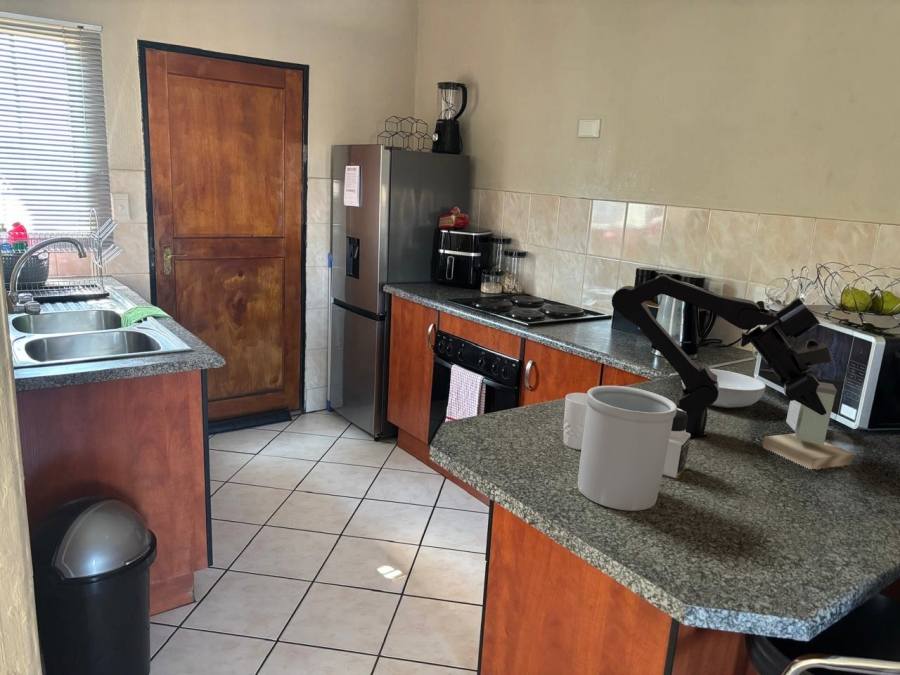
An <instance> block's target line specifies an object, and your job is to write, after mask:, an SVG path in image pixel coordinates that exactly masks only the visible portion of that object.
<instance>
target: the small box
mask: <svg viewBox="0 0 900 675" xmlns="http://www.w3.org/2000/svg"><path fill="white" fill-rule="evenodd" d="M800 406H801V404H800V403H799V402H797V401H795V400H794V401H790V400H789V405H788V411H787V416H786V420H785V422H786V424H787V425H788V426H789V427H790V428H791V429H792V430H793V431H794V432H795V429H796V424H797V420H798V415H799V411H800Z"/></svg>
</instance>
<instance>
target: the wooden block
mask: <svg viewBox="0 0 900 675" xmlns="http://www.w3.org/2000/svg"><path fill="white" fill-rule="evenodd" d="M762 447H763V449H764V450H767V451H769V450H770V451H769V452H771V451H772V452H771V453H773V452H774V453H773V454H775V453H776V454H775V455H777V454H778V456H779V455H780V457H782V456H783V457H782V458H784V457H785V458H784V459H786V460H788V459H789V460H788V461H790V460H791V462H792V461H793V462H792V463H794V462H795V463H794V464H796V463H797V464H796V465H799V464H800V465H799V466H801V465H802V466H801V467H803V466H804V467H803V468H805V467H806V468H805V469H807V468H808V469H807V470H809V469H811V470H810V471H813V470H812V469H816V470H821V468H823V469H828V468H829V467H831V468H838V467H844V465H845V466H850V465H851V464H852V460H853V455H854V453H853V452H851V451H848V450H846V449H843V448H841V447H839V446H836V445H834V444H831V443H829V442H827V441H825V442H824V445H821V444H816V443H811V442H806V441H801V440H797V438H796V435H795V432H794V433H786V434H778V435H768V436H767V435H766V436H763V443H762ZM836 466H837V467H836Z"/></svg>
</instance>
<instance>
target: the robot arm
mask: <svg viewBox="0 0 900 675" xmlns="http://www.w3.org/2000/svg"><path fill="white" fill-rule="evenodd" d="M660 295H664V296H667V297H669V298H673V299H675V300H678V301H681V302H684V303H686V304H690V305H692V306H695V307H697V308H701V309H703V310H705V311H708V312H711V313H713V314H715V315H717V316H719V317H720V318H722V319H723V320H725V322H728V323H729V324H730V325H733V326H735V327H736V328H738V329H741V330H743V331H749V332H741V333H740V334H741V340H740V342H739V343H740V347H742V348H743V347H745V346H748V345H749V344H751V345H752V347H753V348H754V349H755V350H756V351H757V352H758V354H759V355H760V357H761V358H762V359H763V361H764V362H765V363H766V365H767V367H768V368H769V369H770V370H772V372H773V373H774V374H775V375H776V377H777V378H778V381H779V382H780V384H782V385H783V384H784V386H783V391H784V395H785V396H786V397H787V398H788V399H789V400H788V401H789V402H790V401H794V400H795V401H797V402H799V403H800V404H802V405H804V406H806V407H808V408H810V409H811V410H813V411H815V412H817V413H818V414H820V415H824V414H826V413H827V412H826V410H825V408H824V406H823V404H822V402H821V400H820V398H819V397H818V395H817V393H816V390H817V387H818V386H819V385H820V384H819V382H820V381H818V379H817V378H816V377H815V376H814V372H813V371H812V370H810V368H811V367H810V366H814V365H819V364H828V363H831V362H833V359H832V355H831V352H830V348H829V345H827V344H826V343H824V342H820V343H819V342H818V341H816V339H813V338H812V339H809V340H806V343H805V346H803V347H801V348H799V349H796V348H794V346H793V345H790V344H789V343H788V342H787V341H786V339H785V338H784V337H783V336H782V334H781V333H780V332H779V330H778V329H777V328H776V327H778V328H779V329H780V330H781V331H782V333H783V334H784V335H785V337H786V338H789V337H790V338H793V337H794V339H797V338H799V337H801V336H802V335H803V334H805V333H807V332H809V331H810V330H813V329H814V328H815V327H817V326H818V325H821V322H820V321H819V319H818V318H817V316H815V313H813V312H812V310H810V308H809V307H807V306H806V305H805V304H804V302H802V300H801V299H800V298H799V297H796V298H795V299H793V300H791V301H790V303H789V304H787V305H784V307H782V308H780V309H779V310H777V311H774V310H771V309H766V308H763V307H760V306H759V304H758V303H757V302H755V301H754V300H750V299H745V298H740V297H734V296H727V295H726V296H725V295H722V294H721V295H720V294H717V293H714V292H712V291H709V290H706V289H703V288H700V287H698V286H694V285H692V284H689V283H687V282H684V281H681V280H678V279H675V278H672V277H670V276H669V275H667V274H659V275H658V276H656V277H655V278H653V279H652V278H651V279H650V280H646V281H645V282H642V283H640V284H637V285H635V286H633V285H624V286H622V287H620V288H619V289H617V290H616V291H615V292H614V293H613V295H612V297H611V307H612V308H613V309H614V311H616V312H617V313H618V314H619V315H620V316H622V317H623V318H624V319H625V320H627V321H628V322H630V323H631V324H633V325H634V326H636V327H637V328H638V329H639V330H640V331H641V332H642V333H643V334H644V336H645V337H646V338H647V339H648V340H649V342H651V344H652V345H653V346H654V347H655V348H656V349H657V351H658V352H659V354H661V355H662V357H664V359H665V360H666V361H667V363H669V364H670V366H671V367H672V368H673V369H674V370H675V371H676V373H677V374H678V375H679V377H680V379H682V380H681V382H682V381H683V384H684V386H685V389H684V388H683V389H682V390H681V391H680V396H679V399H678V404H676V406H677V408H678V409H681V410H683V411H684V412H686V413H687V415H688V420H687V426H686V433H690V434H691V436H690V439H691V438H699V437H701V438H702V437H708V436H709V433H708V432H707V431H705V430H706V425H707V418H708V406H712V405H711V404H713V403H714V402H715V401H716V400H717V398H718V393H719V384H718V381H717V375H715V374H713V373H712V372H711V371H710V369H711V368H710V367H709V366H708V364H707V363H705V362H704V363H703V364H702V365H701V366H700V365H699V364H697V363H695V361H693V360H692V359H691V358H690V356H688V354H687V353H686V352H685V351H684V350H683V349H682V348H681V346H679V344H678V343H677V342H676V340H674V338H673V337H672V336H671V335H670V334H669V332H668V331H667V330H666V329H665V328H664V327H663V326H662V324H660V322H659V321H658V320H657V319H656V318H655V317H654V316H653V314H652V312H651V310H650V309H649V306H648V304H647V301H648V300H651V299H653V298H655V297H657V296H660ZM761 326H765V327H761ZM750 330H751V331H750ZM808 370H809V371H808Z"/></svg>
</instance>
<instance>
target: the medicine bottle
mask: <svg viewBox="0 0 900 675" xmlns="http://www.w3.org/2000/svg"><path fill="white" fill-rule="evenodd" d="M687 420H688V415H687V413H686V412H684V411H683V410H681V409H678V408H677V411H676V415H675V417H674V418H673V423H672V429H671V434H670V439H669V444H668V449H667V454H666V459H665V464H664V470H663V474H662V476H665V477H666V476H667V477H670V478H673V479H677V478H678V477H679V476H680V475H681V473H682V472H683V470H684V469H685V468H686V464H687V460H688V453H689V449H690V448H689V447H690V443H691V441H690V440H691V438H690V436H691V434H690V433H686V426H687Z"/></svg>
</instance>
